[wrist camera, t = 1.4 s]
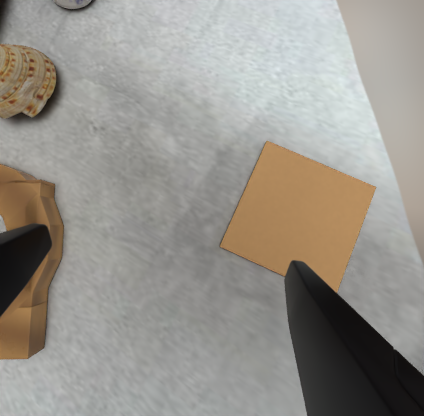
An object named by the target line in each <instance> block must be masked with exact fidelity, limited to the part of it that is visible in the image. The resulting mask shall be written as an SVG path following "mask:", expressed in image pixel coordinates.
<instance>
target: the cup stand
mask: <svg viewBox="0 0 424 416" xmlns="http://www.w3.org/2000/svg"><path fill="white" fill-rule="evenodd" d="M54 191H55V184H52V183H49V182H46V181H43V180H36V179H35V178H34V177H33V176H31V175H29V174H26V173H24V172H21V171H19V170H16V169H14V168H11V167H8V166H6V165H3V164H0V215H1V216H2V217H3V220H4V223H5V226H6V229H7V231H9V230H12V229H16V228H19V227H22V226H25V225H29V224H32V223H38V224H44V225H46V226H47V227H48V229H49V232H50V236H51V239H52V247H51V249H50V251H49V252H48V254H47V255H46V257H45V258H44V260H43V261H42V263H41V264H40V266H39V267H38V269H37V270H36V272H35V273H34V275H33V276H32V278H31V279H30V281H29V282H28V284H27V285H26V286H25V287H24V289H23V290H22V291H21V293H20V294H19V295H18V296H17V297H16V299H15V300H14V301H13V302H12V304H11V305H10V306H9V307H8V308H7V310H6V311H5V312H4V313H3V315H2V316H1V317H0V359H28V358H30V357H31V356H33V355H34V354H36V353H37V352H39V351H40V350H42V349H43V348H44V344H45V329H46V314H47V299H48V287H49V285H50V283H51V280H52V278H53V276H54V274H55V272H56V269H57V267H58V265H59V263H60V261H61V258H62V246H63V229H64V226H63V223H62V220H61V217H60V214H59V212H58V209H57V206H56V203H55V200H54Z"/></svg>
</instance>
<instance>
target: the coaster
mask: <svg viewBox="0 0 424 416" xmlns="http://www.w3.org/2000/svg"><path fill="white" fill-rule="evenodd" d="M375 189H376V187H375V186H372V185H370V184H368V183H365V182H363V181H361V180H358V179H356V178H354V177H351V176H349V175H347V174H344V173H342V172H339V171H337V170H335V169H332V168H330V167H328V166H325V165H323V164H321V163H318V162H316V161H314V160H311V159H309V158H307V157H304V156H302V155H300V154H297V153H295V152H293V151H290V150H288V149H285V148H283V147H281V146H278V145H276V144H274V143H271V142H269V141H266V143H265V146H264V148H263V150H262V152H261V154H260V157H259V159H258V161H257V163H256V166H255V168H254V170H253V172H252V175H251V177H250V179H249V181H248V184H247V186H246V188H245V190H244V193H243V195H242V197H241V199H240V202H239V204H238V206H237V208H236V211H235V213H234V215H233V217H232V220H231V222H230V224H229V226H228V229H227V231H226V233H225V235H224V238H223V240H222V242H221V244H220V247H222V248H224V249H226V250H228V251H230V252H233V253H235V254H237V255H239V256H241V257H243V258H246V259H248V260H250V261H252V262H254V263H256V264H259V265H261V266H263V267H265V268H267V269H269V270H272V271H274V272H276V273H278V274H280V275H282V276H285V275H286V272H287V270H288V267H289V264H290V262H291V261H292V260H298V261H303V262H305V263H306V264H307V265H308V266H309V267H310V268H311V269H312V270H313V271H314V272H315V273H316V274H317V275H318V276H320V277H321V278H322V279H323V280H324V281H325V282H326V283H327V284H328V285H329V286H330V287H331V288H332V289H333V290H334V291H335V292H336V293H337V291H338V288H339V286H340V283H341V280H342V277H343V275H344V272H345V269H346V267H347V264H348V261H349V259H350V256H351V253H352V251H353V248H354V245H355V243H356V240H357V237H358V235H359V232H360V229H361V227H362V224H363V221H364V219H365V216H366V213H367V211H368V208H369V205H370V203H371V200H372V197H373V195H374V192H375Z"/></svg>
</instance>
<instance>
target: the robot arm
mask: <svg viewBox="0 0 424 416" xmlns="http://www.w3.org/2000/svg"><path fill="white" fill-rule="evenodd" d="M51 247H52V239H51V236H50V232H49V229H48V227H47V226H46V225H44V224H38V223H32V224H29V225H25V226H22V227H19V228H16V229H12V230H9V231H6V232H3V233H0V317H1V316H2V315H3V313H4V312H5V311H6V310H7V308H8V307H9V306H10V305H11V304H12V302H13V301H14V300H15V299H16V297H17V296H18V295H19V294H20V293H21V291H22V290H23V289H24V287H25V286H26V285H27V284H28V282H29V281H30V279H31V278H32V276H33V275H34V273H35V272H36V270H37V269H38V267H39V266H40V264H41V263H42V261H43V260H44V258H45V257H46V255H47V254H48V252H49V251H50V249H51ZM285 293H286V304H287V315H288V323H289V329H290V334H291V339H292V344H293V348H294V353H295V358H296V363H297V368H298V373H299V377H300V382H301V387H302V392H303V397H304V401H305V406H306V411H307V416H424V376H423V375H422V374H421V373H420V372H419V371H418V370H417V369H416V368H415V367H414V366H413V365H412V364H410V363H409V362H408V361H407V360H406V359H405V358H404V357H403V356H402V355H401V354H400V353H399V352H398V351H397V350H394V349H393V346H392V345H390V344H389V343H388V342H387V341H386V340H385V339H384V338H383V337H382V336H381V335H380V334H379V333H378V332H377V331H376V330H375V329H374V328H373V327H372V326H371V325H370V324H369V323H368V322H366V321H365V320H364V319H363V318H362V317H361V316H360V315H359V314H358V313H357V312H356V311H355V310H354V309H353V308H352V307H351V306H350V305H349V304H348V303H347V302H346V301H345V300H344V299H342V298H341V297H340V296H339V295H338V294H337V293H336V292H335V291H334V290H333V289H332V288H331V287H330V286H329V285H328V284H327V283H326V282H325V281H324V280H323V279H322V278H321V277H320V276H318V275H317V274H316V273H315V272H314V271H313V270H312V269H311V268H310V267H309V266H308V265H307V264H306V263H305V262H303V261H298V260H292V261H291V262H290V264H289V267H288V270H287V272H286V275H285Z"/></svg>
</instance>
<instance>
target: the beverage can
mask: <svg viewBox="0 0 424 416" xmlns="http://www.w3.org/2000/svg"><path fill="white" fill-rule="evenodd" d="M53 1H54V2H55V3H56V4H58V5H59V6H61V7H64V8H68V9H77V8H81V7H84V6H86V5H87V4H89V3H90V2H91V1H92V0H53Z"/></svg>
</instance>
